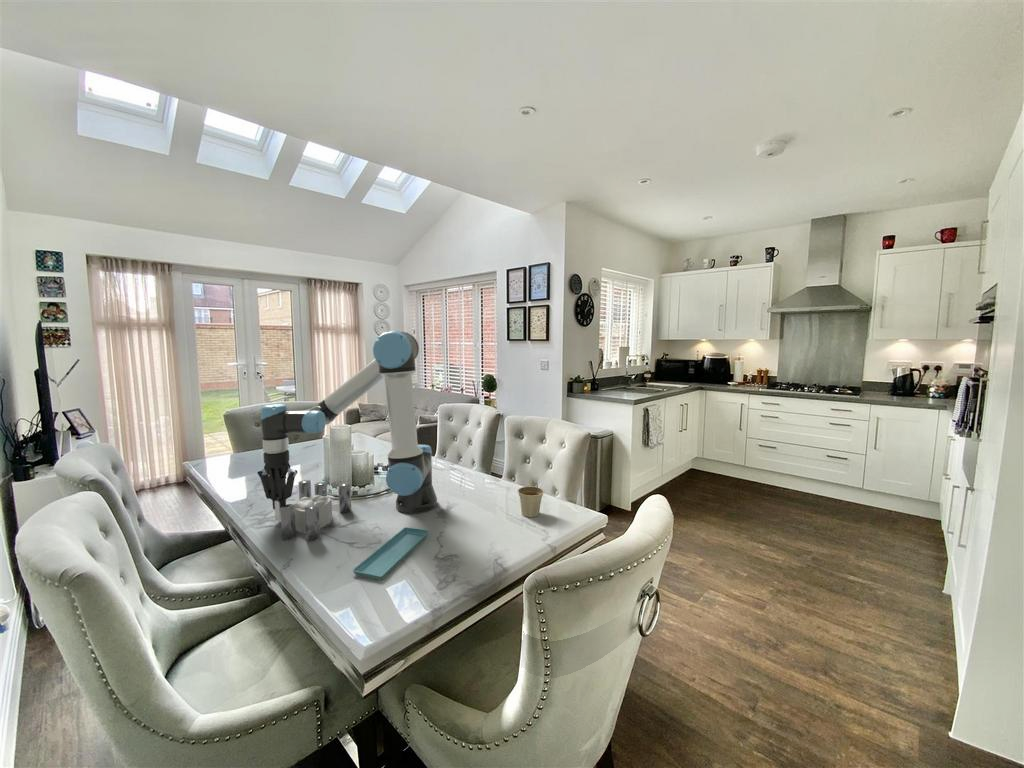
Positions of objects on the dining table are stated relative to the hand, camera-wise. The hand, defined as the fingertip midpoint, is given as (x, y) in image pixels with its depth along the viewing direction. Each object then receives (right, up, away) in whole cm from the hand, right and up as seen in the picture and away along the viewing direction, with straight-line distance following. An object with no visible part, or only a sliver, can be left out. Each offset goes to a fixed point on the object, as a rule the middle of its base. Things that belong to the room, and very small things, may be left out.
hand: (280, 518), depth 141 cm
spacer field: (+10, -1, 0) cm, 10 cm away
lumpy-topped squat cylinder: (+12, -2, -1) cm, 12 cm away
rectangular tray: (+45, -4, -21) cm, 50 cm away
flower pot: (+86, -1, +7) cm, 86 cm away
